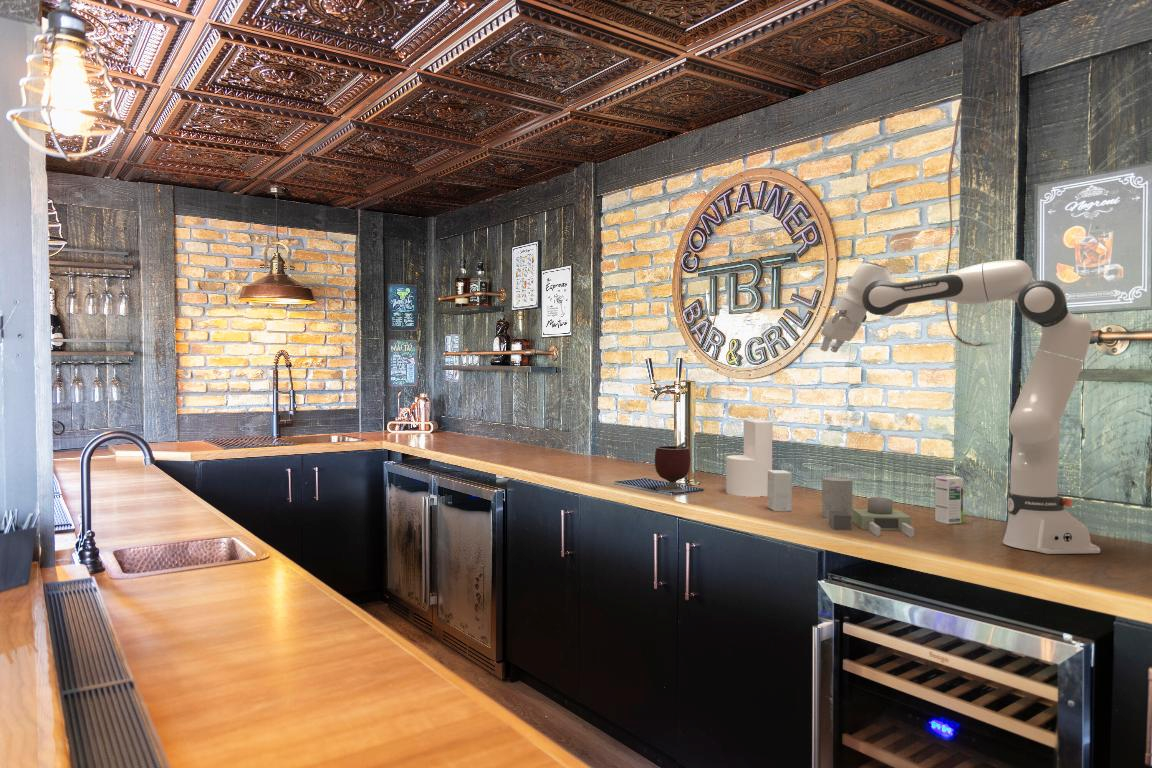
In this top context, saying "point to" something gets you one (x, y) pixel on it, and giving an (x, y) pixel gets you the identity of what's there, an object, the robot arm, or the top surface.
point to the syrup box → (949, 499)
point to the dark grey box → (840, 520)
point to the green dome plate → (882, 517)
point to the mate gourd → (672, 465)
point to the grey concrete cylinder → (836, 495)
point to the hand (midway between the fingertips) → (828, 351)
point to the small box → (779, 490)
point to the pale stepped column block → (751, 461)
